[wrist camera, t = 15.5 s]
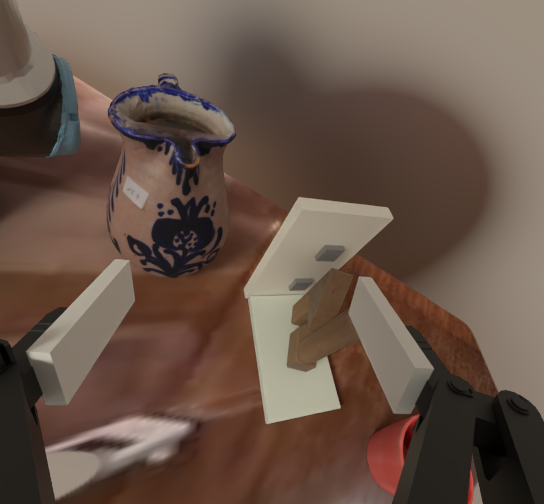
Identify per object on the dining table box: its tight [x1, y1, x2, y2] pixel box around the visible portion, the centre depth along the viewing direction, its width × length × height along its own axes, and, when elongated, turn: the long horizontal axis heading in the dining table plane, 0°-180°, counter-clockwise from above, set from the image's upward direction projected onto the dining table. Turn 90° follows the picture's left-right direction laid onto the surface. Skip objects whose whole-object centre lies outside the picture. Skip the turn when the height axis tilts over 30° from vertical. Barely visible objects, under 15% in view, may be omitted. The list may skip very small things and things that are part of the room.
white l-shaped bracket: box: [244, 197, 393, 424], centre depth 38 cm, size 21×13×24 cm, turn 11°
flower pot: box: [367, 414, 474, 504], centre depth 39 cm, size 11×11×10 cm
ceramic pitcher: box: [107, 74, 236, 278], centre depth 40 cm, size 18×21×25 cm
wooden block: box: [287, 268, 360, 372], centre depth 40 cm, size 4×11×18 cm, turn 172°
